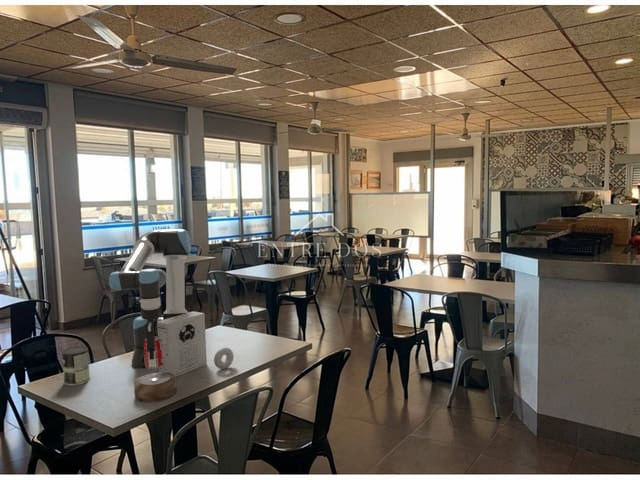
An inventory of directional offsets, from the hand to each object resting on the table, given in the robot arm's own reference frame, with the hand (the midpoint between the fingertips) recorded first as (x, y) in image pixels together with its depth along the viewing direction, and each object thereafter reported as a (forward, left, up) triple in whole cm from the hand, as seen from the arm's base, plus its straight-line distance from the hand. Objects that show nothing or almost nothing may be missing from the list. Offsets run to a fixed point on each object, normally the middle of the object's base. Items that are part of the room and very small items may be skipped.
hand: (154, 363), depth 196 cm
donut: (+4, +35, -13) cm, 38 cm away
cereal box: (-11, +24, -13) cm, 30 cm away
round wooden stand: (0, 0, -13) cm, 13 cm away
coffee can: (-42, -9, -13) cm, 45 cm away
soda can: (0, 0, -2) cm, 2 cm away
